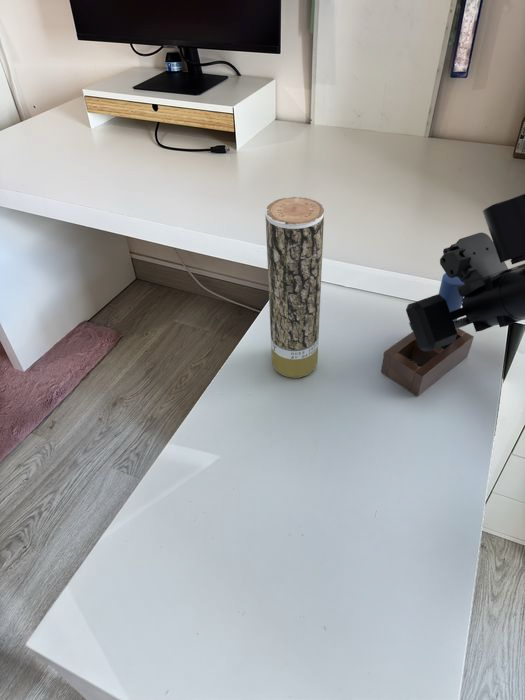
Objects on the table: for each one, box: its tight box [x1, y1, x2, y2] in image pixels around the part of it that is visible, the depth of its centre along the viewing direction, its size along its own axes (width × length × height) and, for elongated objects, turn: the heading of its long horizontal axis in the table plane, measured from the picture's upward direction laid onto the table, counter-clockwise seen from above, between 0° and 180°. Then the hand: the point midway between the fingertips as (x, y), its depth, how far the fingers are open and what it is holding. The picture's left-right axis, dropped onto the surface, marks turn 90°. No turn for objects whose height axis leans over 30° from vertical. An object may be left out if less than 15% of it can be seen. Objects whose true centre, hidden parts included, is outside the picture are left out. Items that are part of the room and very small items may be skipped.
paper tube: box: [265, 196, 325, 379], centre depth 67 cm, size 7×7×25 cm
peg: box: [438, 272, 464, 349], centre depth 71 cm, size 3×3×14 cm
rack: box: [380, 328, 475, 397], centre depth 73 cm, size 7×12×4 cm, turn 130°
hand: (437, 316), depth 72 cm, fingers open, 9 cm apart
